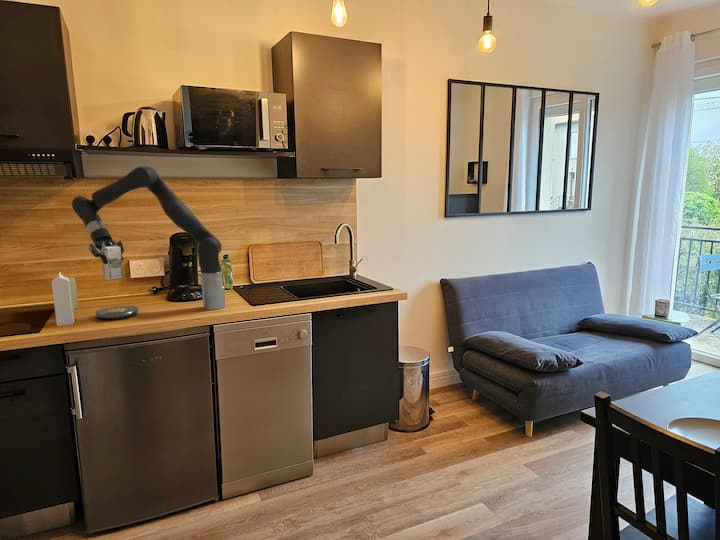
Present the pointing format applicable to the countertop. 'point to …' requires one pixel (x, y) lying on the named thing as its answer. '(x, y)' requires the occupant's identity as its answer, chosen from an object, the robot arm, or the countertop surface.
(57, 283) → the milk
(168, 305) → the countertop surface
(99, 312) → the disc
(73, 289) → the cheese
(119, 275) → the syrup box
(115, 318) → the turntable base
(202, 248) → the robot arm
